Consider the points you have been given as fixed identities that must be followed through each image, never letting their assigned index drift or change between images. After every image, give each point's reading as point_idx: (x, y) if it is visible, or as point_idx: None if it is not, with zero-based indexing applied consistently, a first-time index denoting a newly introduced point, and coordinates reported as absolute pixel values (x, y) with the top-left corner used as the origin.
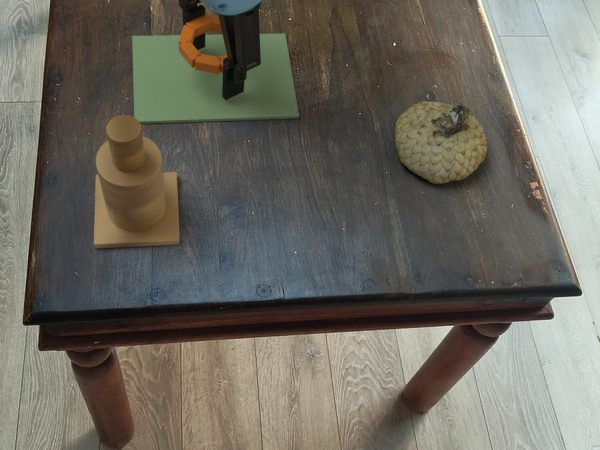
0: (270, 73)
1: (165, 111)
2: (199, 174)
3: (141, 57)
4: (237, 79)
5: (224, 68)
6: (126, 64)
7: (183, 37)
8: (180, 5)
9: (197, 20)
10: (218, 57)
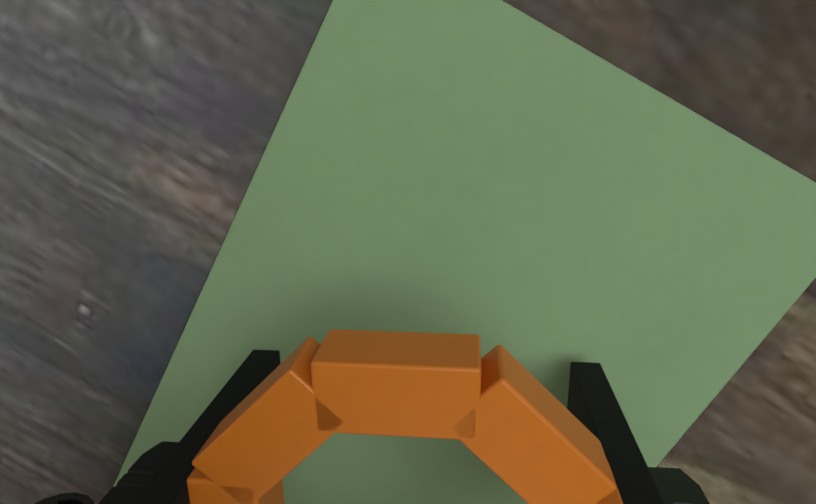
0: None
1: (349, 97)
2: (5, 49)
3: (710, 176)
4: (126, 476)
5: (176, 474)
6: (729, 93)
7: (517, 425)
8: None
9: None
10: (252, 497)
